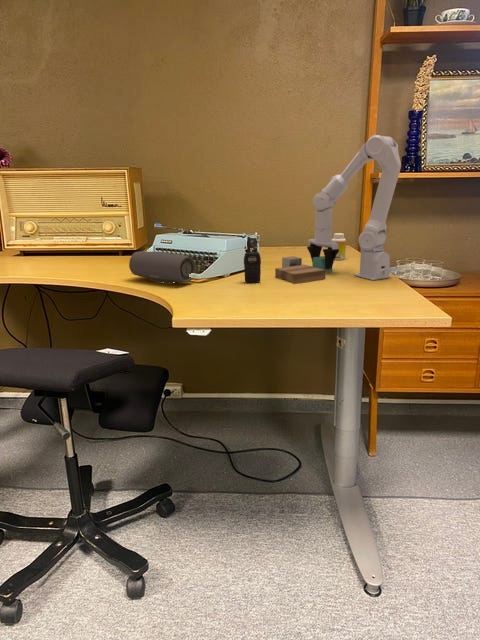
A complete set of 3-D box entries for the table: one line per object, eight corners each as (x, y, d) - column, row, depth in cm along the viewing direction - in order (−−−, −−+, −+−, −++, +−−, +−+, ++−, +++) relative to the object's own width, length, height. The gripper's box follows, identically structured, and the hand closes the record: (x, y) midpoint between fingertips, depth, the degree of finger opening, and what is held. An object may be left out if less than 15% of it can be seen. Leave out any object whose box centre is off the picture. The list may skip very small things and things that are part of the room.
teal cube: (332, 271, 167) (332, 257, 166) (320, 273, 165) (321, 259, 164) (323, 269, 172) (323, 256, 170) (312, 271, 170) (312, 257, 168)
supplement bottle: (347, 259, 190) (349, 233, 187) (339, 260, 187) (340, 234, 184) (337, 257, 195) (338, 232, 191) (328, 259, 191) (328, 233, 188)
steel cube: (301, 272, 169) (301, 258, 167) (289, 273, 166) (289, 259, 165) (293, 269, 173) (293, 256, 171) (282, 271, 171) (282, 257, 169)
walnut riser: (325, 279, 156) (325, 270, 155) (295, 283, 151) (295, 274, 150) (304, 273, 166) (304, 264, 165) (275, 277, 161) (275, 268, 160)
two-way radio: (244, 283, 153) (243, 237, 148) (244, 280, 157) (243, 235, 153) (261, 283, 153) (260, 236, 148) (260, 280, 157) (260, 234, 153)
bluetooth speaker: (198, 282, 156) (196, 252, 153) (179, 288, 149) (177, 257, 146) (148, 276, 168) (146, 248, 166) (129, 281, 161) (126, 252, 158)
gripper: (345, 229, 160) (344, 269, 164) (320, 226, 172) (319, 262, 176) (329, 231, 157) (327, 271, 161) (304, 227, 169) (303, 264, 173)
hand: (322, 267), depth 168 cm, fingers open, 7 cm apart
